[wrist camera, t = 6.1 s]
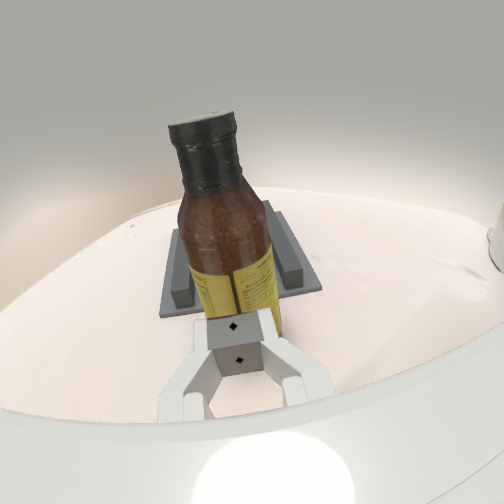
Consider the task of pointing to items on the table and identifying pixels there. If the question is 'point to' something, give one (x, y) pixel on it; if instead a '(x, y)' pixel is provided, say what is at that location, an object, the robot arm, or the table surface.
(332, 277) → the table surface
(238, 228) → the sauce bottle
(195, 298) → the holder
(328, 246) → the table surface
